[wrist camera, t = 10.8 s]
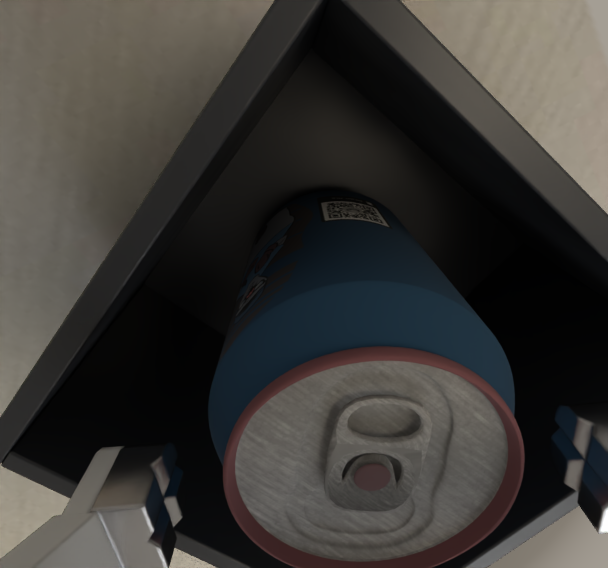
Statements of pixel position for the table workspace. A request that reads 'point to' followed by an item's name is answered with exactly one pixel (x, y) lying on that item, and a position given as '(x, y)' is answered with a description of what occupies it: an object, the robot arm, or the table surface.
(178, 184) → the trash bin
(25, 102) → the table surface
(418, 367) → the soda can
